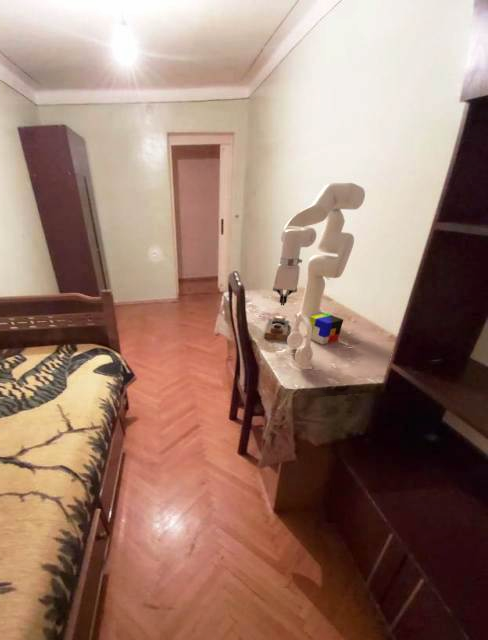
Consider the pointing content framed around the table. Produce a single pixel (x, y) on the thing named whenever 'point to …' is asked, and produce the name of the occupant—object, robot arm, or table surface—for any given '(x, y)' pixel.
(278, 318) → the key ivory
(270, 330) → the block walnut
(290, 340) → the headset
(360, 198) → the robot arm
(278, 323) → the key ebony
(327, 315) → the puzzle toy
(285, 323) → the block black
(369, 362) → the table surface
